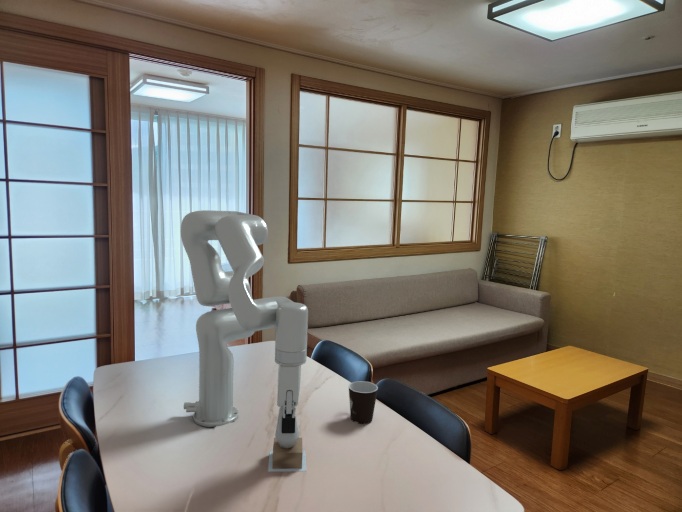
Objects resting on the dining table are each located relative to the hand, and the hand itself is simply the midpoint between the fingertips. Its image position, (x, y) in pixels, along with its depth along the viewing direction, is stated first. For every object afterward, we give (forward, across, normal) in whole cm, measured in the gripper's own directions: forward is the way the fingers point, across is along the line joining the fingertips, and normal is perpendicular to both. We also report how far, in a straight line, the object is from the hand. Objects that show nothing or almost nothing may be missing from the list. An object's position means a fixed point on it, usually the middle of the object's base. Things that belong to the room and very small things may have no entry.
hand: (288, 427), depth 113 cm
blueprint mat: (+9, 0, 0) cm, 9 cm away
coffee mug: (+9, -24, +22) cm, 34 cm away
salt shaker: (+5, 0, 0) cm, 5 cm away
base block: (+9, 0, 0) cm, 9 cm away
